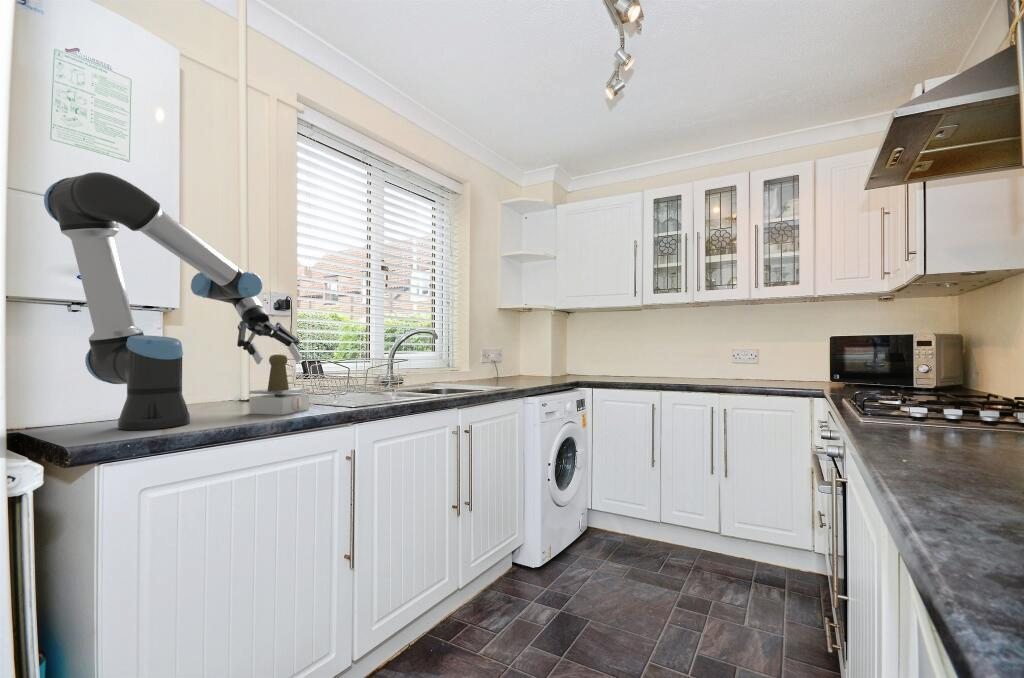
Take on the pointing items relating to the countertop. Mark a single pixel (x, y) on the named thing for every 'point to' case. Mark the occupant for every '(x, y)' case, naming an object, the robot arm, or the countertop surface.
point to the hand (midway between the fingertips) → (280, 360)
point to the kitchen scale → (278, 403)
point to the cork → (278, 373)
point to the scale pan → (291, 390)
